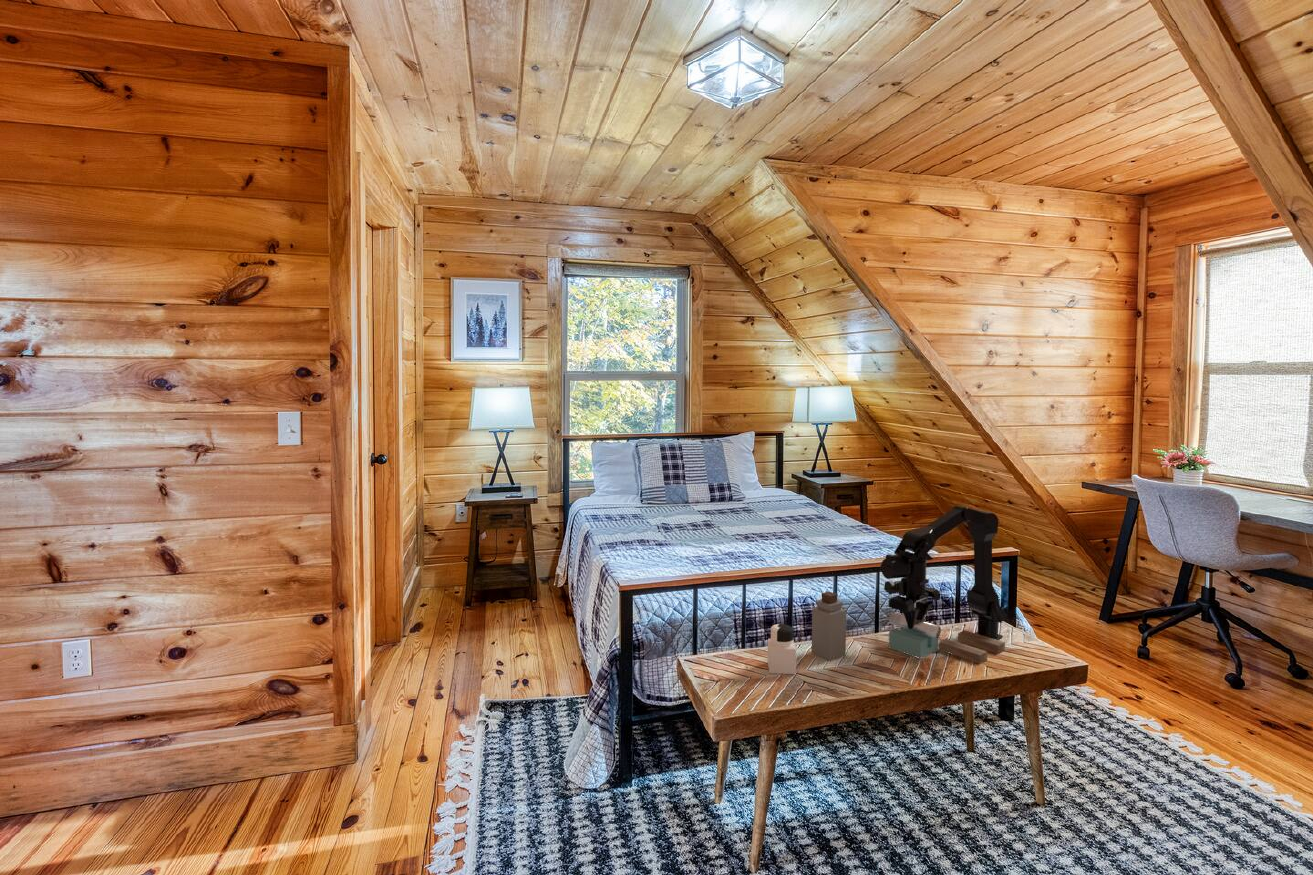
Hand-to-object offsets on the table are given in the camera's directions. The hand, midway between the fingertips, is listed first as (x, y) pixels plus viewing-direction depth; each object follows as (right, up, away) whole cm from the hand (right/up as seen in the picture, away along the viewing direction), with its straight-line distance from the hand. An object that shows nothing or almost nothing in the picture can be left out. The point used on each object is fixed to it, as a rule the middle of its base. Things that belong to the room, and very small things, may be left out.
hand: (914, 626), depth 187 cm
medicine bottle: (-42, -8, -13) cm, 44 cm away
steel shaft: (0, -1, 0) cm, 1 cm away
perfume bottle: (-26, -7, -3) cm, 27 cm away
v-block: (0, -7, 0) cm, 7 cm away
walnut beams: (+17, -7, 0) cm, 18 cm away
